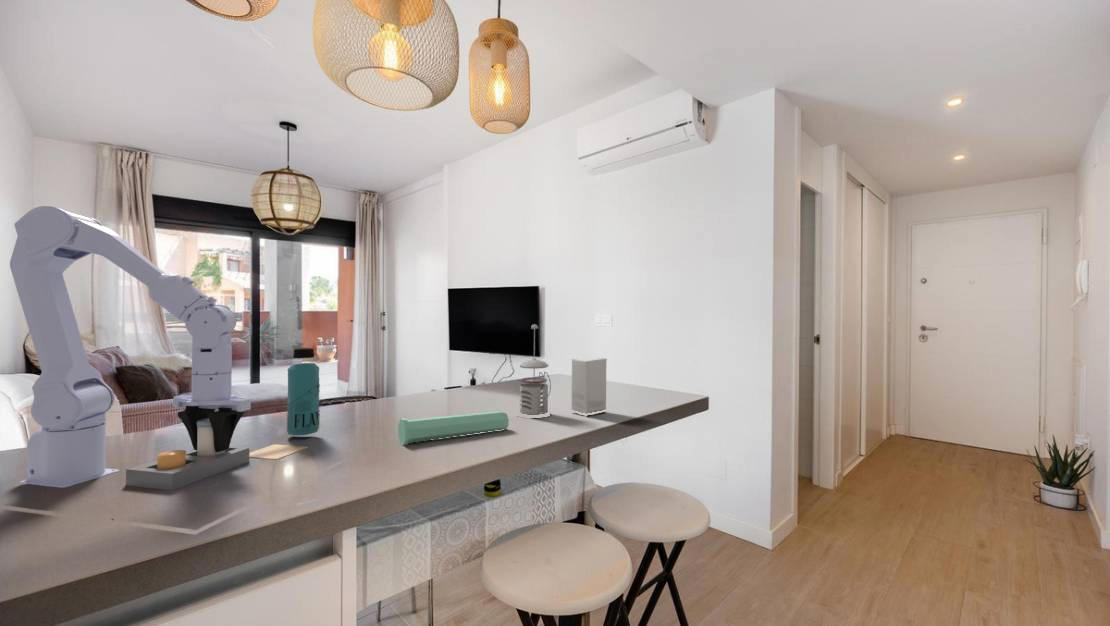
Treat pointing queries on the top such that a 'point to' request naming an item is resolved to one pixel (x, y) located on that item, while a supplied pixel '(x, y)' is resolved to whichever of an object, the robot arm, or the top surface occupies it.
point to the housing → (185, 469)
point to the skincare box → (588, 384)
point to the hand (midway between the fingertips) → (211, 449)
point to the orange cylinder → (171, 459)
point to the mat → (275, 451)
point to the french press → (534, 388)
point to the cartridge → (205, 439)
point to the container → (450, 426)
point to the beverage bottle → (303, 395)
